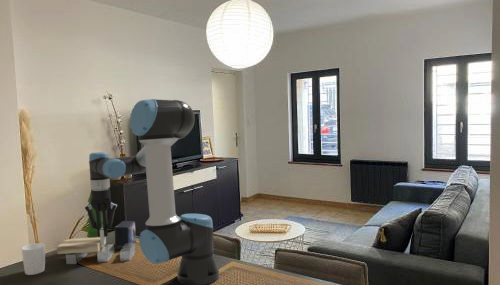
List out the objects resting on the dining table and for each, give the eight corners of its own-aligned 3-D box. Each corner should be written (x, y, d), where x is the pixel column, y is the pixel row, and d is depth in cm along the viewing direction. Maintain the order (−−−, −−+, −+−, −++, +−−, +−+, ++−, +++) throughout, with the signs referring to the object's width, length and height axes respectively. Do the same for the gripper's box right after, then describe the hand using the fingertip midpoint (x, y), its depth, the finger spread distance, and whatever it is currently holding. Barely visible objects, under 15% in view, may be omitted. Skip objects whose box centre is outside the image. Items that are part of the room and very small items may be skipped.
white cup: (18, 274, 145) (16, 248, 144) (36, 266, 152) (34, 242, 152) (33, 276, 142) (31, 250, 142) (51, 268, 150) (49, 244, 149)
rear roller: (130, 260, 156) (129, 251, 156) (120, 260, 156) (119, 251, 156) (135, 251, 166) (134, 243, 166) (125, 252, 166) (125, 243, 166)
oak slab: (98, 251, 155) (97, 244, 155) (57, 254, 154) (57, 246, 153) (105, 243, 165) (104, 237, 165) (67, 245, 163) (66, 238, 163)
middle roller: (107, 261, 156) (107, 252, 155) (97, 262, 155) (97, 252, 155) (114, 253, 166) (113, 244, 165) (104, 253, 165) (104, 244, 165)
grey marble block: (76, 264, 154) (75, 254, 154) (66, 264, 154) (65, 254, 154) (87, 255, 164) (86, 246, 164) (78, 255, 164) (77, 246, 164)
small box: (129, 249, 169) (128, 226, 169) (114, 250, 170) (113, 227, 169) (136, 242, 180) (135, 220, 179) (123, 242, 180) (122, 220, 179)
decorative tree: (83, 249, 171) (79, 184, 169) (92, 242, 180) (89, 180, 178) (104, 249, 171) (101, 183, 169) (112, 242, 180) (109, 180, 178)
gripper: (81, 191, 154) (84, 247, 156) (114, 190, 155) (116, 246, 157) (87, 188, 162) (90, 242, 163) (118, 186, 163) (121, 240, 164)
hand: (103, 244), depth 160 cm, fingers closed
